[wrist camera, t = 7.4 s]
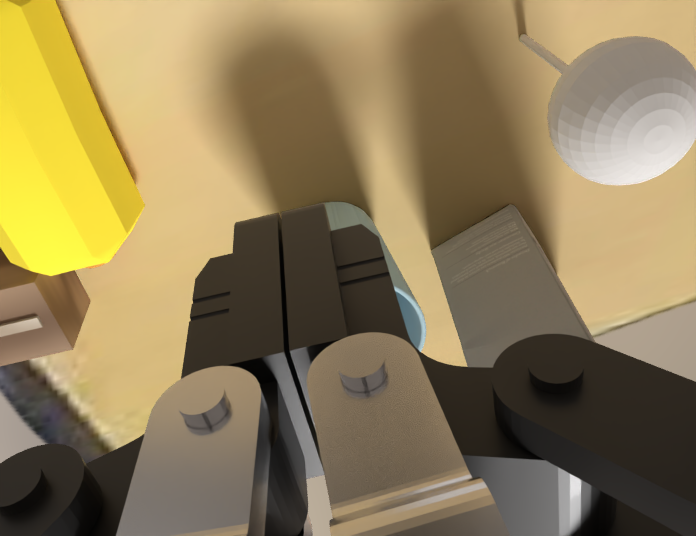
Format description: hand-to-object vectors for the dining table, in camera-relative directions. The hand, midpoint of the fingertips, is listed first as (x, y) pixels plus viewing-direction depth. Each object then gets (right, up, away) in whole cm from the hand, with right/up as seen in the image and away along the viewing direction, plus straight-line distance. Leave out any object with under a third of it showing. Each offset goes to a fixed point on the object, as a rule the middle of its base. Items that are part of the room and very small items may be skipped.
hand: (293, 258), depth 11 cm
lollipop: (+11, +13, +26) cm, 31 cm away
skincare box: (+11, 0, +34) cm, 36 cm away
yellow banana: (-16, +8, +25) cm, 31 cm away
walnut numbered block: (-19, -1, +31) cm, 36 cm away
